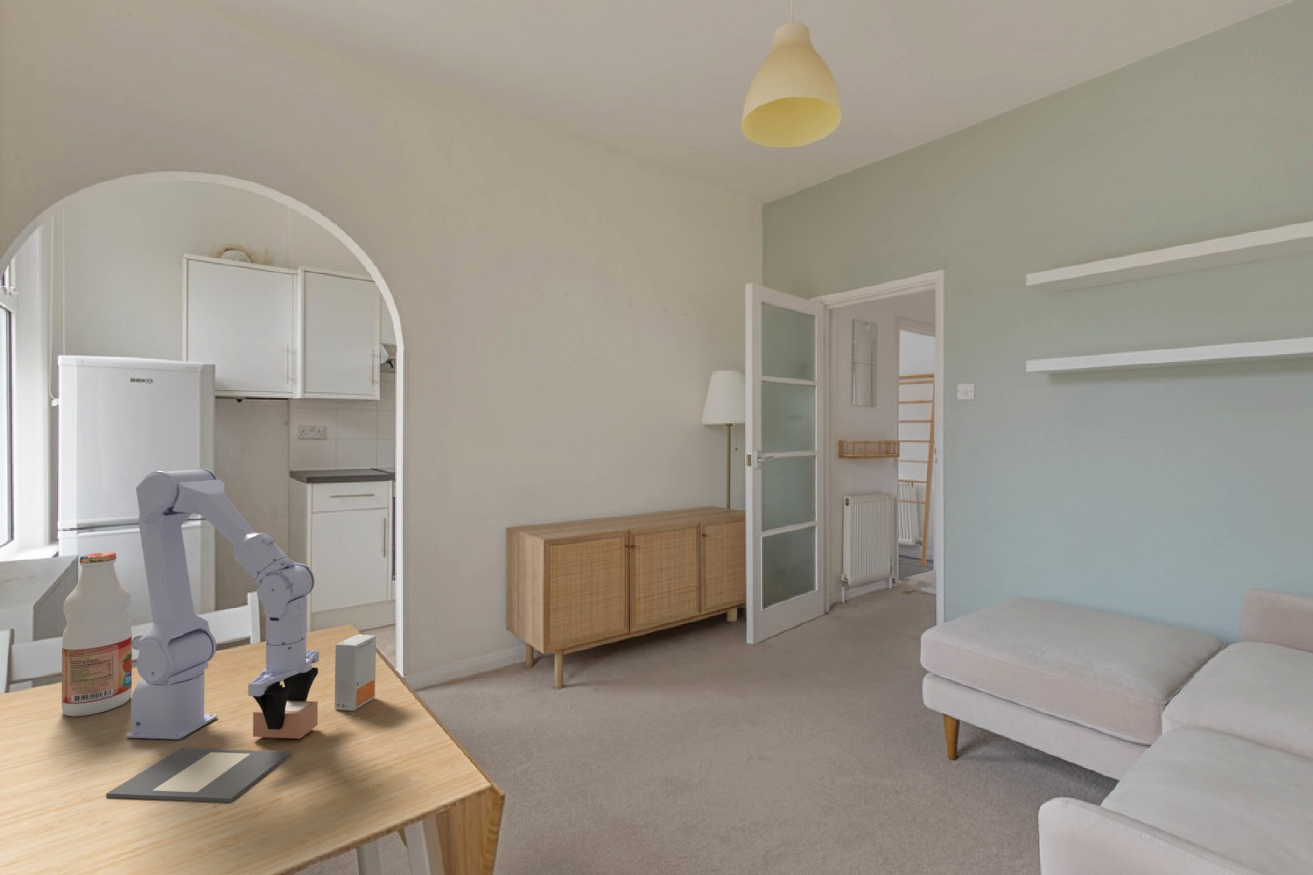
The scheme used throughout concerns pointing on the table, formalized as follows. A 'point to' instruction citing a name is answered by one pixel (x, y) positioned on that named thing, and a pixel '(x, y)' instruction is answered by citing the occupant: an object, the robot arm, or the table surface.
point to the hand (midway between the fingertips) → (285, 720)
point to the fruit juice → (96, 640)
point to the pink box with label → (289, 721)
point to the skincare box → (355, 672)
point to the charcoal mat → (201, 775)
